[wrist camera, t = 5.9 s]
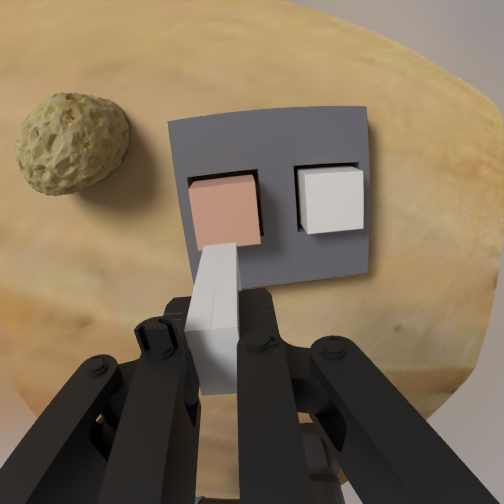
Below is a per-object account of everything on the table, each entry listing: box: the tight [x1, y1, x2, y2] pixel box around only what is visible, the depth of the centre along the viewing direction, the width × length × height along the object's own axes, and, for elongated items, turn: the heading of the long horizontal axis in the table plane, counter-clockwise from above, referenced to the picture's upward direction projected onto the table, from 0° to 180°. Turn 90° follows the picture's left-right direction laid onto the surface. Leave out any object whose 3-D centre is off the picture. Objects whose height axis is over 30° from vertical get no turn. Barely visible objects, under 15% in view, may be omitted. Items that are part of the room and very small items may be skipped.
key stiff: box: [188, 175, 261, 251], centre depth 26 cm, size 5×5×4 cm
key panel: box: [168, 106, 370, 289], centre depth 29 cm, size 16×17×3 cm
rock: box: [15, 93, 130, 196], centre depth 24 cm, size 10×11×10 cm
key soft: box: [296, 166, 364, 234], centre depth 27 cm, size 5×5×4 cm
